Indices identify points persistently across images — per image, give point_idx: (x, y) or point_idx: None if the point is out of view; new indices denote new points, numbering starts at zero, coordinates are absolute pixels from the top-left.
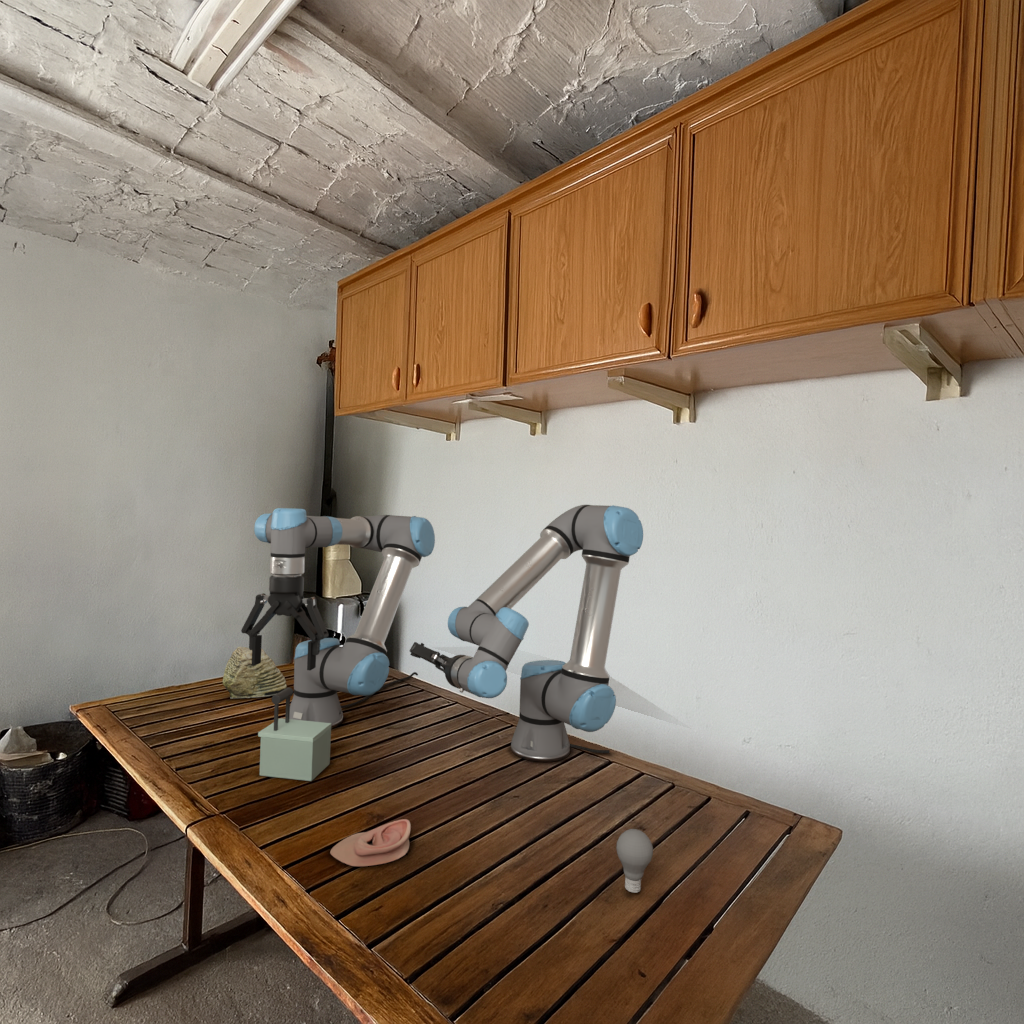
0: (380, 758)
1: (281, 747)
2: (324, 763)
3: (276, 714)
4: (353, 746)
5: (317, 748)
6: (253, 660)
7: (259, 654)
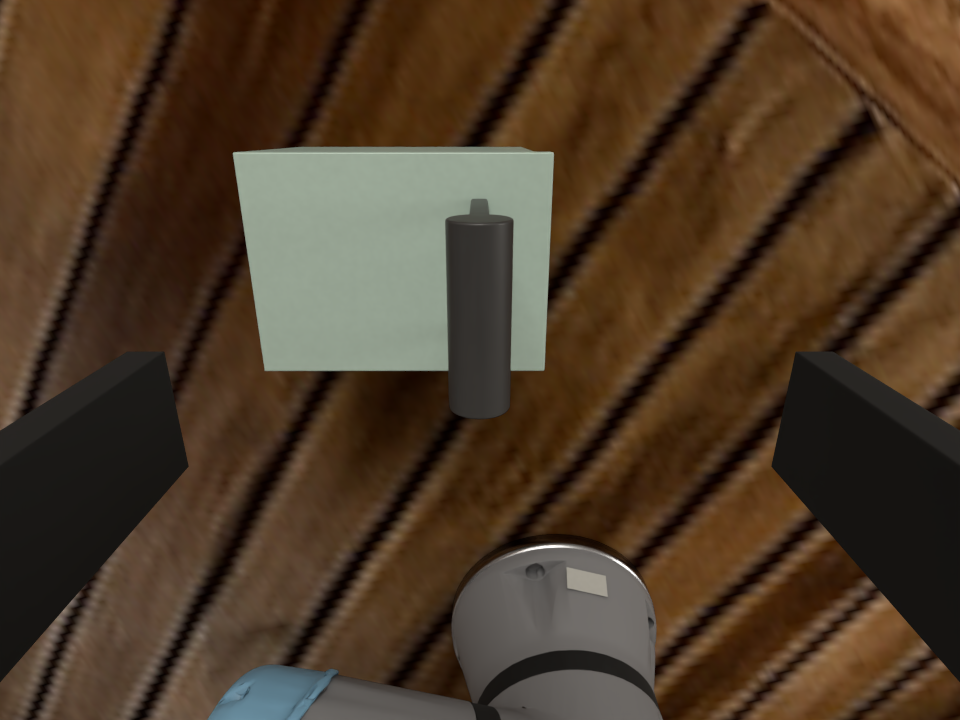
0: None
1: (419, 150)
2: None
3: (472, 208)
4: (317, 468)
5: None
6: (845, 374)
7: (833, 494)
